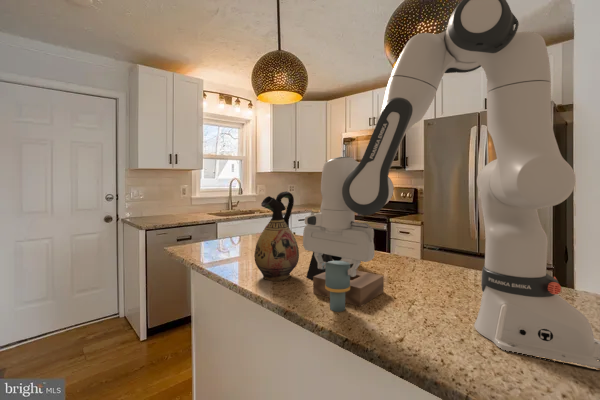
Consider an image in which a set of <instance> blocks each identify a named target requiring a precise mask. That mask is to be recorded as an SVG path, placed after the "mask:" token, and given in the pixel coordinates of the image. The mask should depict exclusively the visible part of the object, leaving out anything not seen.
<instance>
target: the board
mask: <svg viewBox="0 0 600 400" xmlns="http://www.w3.org/2000/svg"><path fill="white" fill-rule="evenodd" d="M384 279H385V276H384V275H380V274H377V273H373V272H372V273H371V272H366V271H362V270H357V269H356V276H354V277H351V276H350V290H349V291H347V292H345V304H346V303H347V304H351V305H354V306H357V307H362V306H363V305H365V304H367V303H368V302H370V301H372V300H373V299H375V298H377V297H379V295H381V294H383V293H384V285H385V284H384V282H385V281H384ZM312 284H313V285H312V291H313V292H312V293H313V294H316V295H319V296H323V297H326V298H329V299H330V291H328V290H326V289H325V272H324V273H321V274H319V275H316V276H313V280H312Z"/></svg>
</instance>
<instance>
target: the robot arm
mask: <svg viewBox="0 0 600 400" xmlns="http://www.w3.org/2000/svg"><path fill="white" fill-rule="evenodd" d="M519 25H520V24H519V20H518V19H517V17H516V15H515V14H514V13H513V12H512V10H511V8H510V5H509V3H508V2H507V0H461V1H460V2H459V3H458V4H457V5H456V6H455V8H454V10H453V11H452V13H451V14H450V18H449V20H448V24H447V27H446V30H445V31H442V32H440V33H431V32H421V33H418V34H415V35H413V36H412V37H410V39H409V40H408V41H407V42H406V44H405V45H404V47H403V48H402V51H401V52H400V54H399V57H398V58H397V60H396V63H395V64H394V67H393V69H392V71H391V74H390V77H389V79H388V82H387V85H386V88H385V92H384V95H383V99H382V103H381V107H380V111H379V115H378V120H377V121H376V122H377V123H376V125H375V126H374V130H373V132H372V135H371V137H370V138H369V142H368V144H367V146H366V149H365V151H364V154H363V156H362V158H361V161H357V160H355V159H354V158H353V157H352V156H338V157H334V158H330V159H328V160H326V161H325V163H323V167H322V172H321V177H320V178H321V179H320V180H321V181H320V194H321V198H322V199H321V203H320V212H318V213H315V214H312V215H309V216H305V217H304V224H305V226H304V228H303V235H302V246H303V248H304V250H305V251H307V252H312V253H313V252H314V256H315V258H316V261H317V262H318V269H325V264H326V262H323V259H322V256H321V255H323V254H328V255H332V256H337V257H342V258H347V259H352V264H353V265H351V267H350V269H348V276H351V277H354V276H356V270H357V269H358V268H359V266H360V264H361V262H364V263H367V262H370V261H372V260H374V258H375V243H374V238H375V230H374V228H373V227H372V225H370V224H369V223H367V222H360V221H359V222H358V221H355V222H354V220H355V214H358V215H362V216H370V215H374V214H376V213H378V212H380V211H381V209H383V208H384V206H385V205H386V204H388V203H389V201H391V199H392V198H393V195H394V191H395V189H394V188H395V187H394V183H393V181H392V178H390V177H389V175H390V174H389V173H390V170H391V168H392V165H393V163H394V159H396V156H397V153H398V151H399V148H400V145H401V143H402V141H403V139H404V137H405V135H406V134H407V132H408V131H409V130H410V129H411V128H412V127H413V126H415V124H417V123H419V122H420V121H421V120H422V119H423V118H424V116H425V115H426V113H427V111H428V110H429V108H430V106H431V105H432V103H433V102H434V101H433V100H434V98H435V97H436V94H437V92H438V89H439V86H440V84H441V81H442V78H443V76H444V75H445V74H453V73H454V74H455V73H457V74H458V73H460V74H464V73H470V72H474V71H476V70H478V69H480V68H482V69H483V71H484V73H485V78H486V79H487V80H486V125H487V126H486V128H487V129H486V130H487V132H488V134H489V135H490V137H491V139H492V142H493V146H494V147H493V148H494V150H495V154H496V155H495V156H496V159H493V160H491V161H490V162H489V163H487V164H485V165H484V167H482V168H481V169H480V171H479V173H478V174H477V176H476V187H477V189H478V191H479V195H480V196H479V197H480V204H481V210H482V215H483V222H484V231H485V233H484V234H485V243H484V244H485V246H484V250H485V251H484V252H485V253H484V265H483V266H482V269H481V278H480V279H481V280H480V281H481V291H482V296H481V300H480V307H479V310H478V313H477V317H476V320H475V322H474V323H473V324H474V328H475V330H476V331H477V332H478V334H480V335H482V336H484V338H486V339H488V340H490V341H492V342H493V344H494V345H496V346H497V347H498V348H501V350H502V351H505V350H506V351H505V352H509V351H512V352H511V353H514V352H517V353H516V354H518V353H522V354H521V355H523V354H527V355H533V356H539V357H545V358H549V359H556V360H561V361H565V362H573V363H577V364H581V365H587V366H590V367H595V368H600V340H599V339H597V338H595V335H594V331H593V329H592V326H591V323H590V321H589V320H588V318H587V316H586V315H585V314H583V312H581V311H580V310H579V309H577V308H576V307H575V306H573V305H572V304H570V303H569V302H568V301H567V300H566V299H564V298H563V297H562V296H560V293H561V291H562V289H561V288H562V286H561V285H560V283H559V281H558V279H557V278H556V276H551V275H550V274H548V273H547V263H548V245H549V243H548V235H547V233H546V232H545V230H544V228H543V226H542V223H541V220H540V217H539V213H538V210H539V209H545V208H550V207H554V206H557V205H560V204H561V203H563V202H564V201H565V200H567V199H568V198H569V197H570V196H571V194H572V193H573V191H574V190H575V186H576V175H575V172H574V169H573V167H572V166H571V165H570V164H569V163H568V162H567V161H566V159H564V157H563V156H562V154H561V150H560V149H559V145H558V142H557V139H556V137H555V132H554V128H553V123H552V122H553V121H552V110H551V109H552V104H551V103H552V100H551V99H552V95H551V94H552V93H551V92H552V91H551V90H552V89H551V88H552V87H551V86H552V84H551V83H552V81H551V80H552V79H551V66H550V60H549V59H550V58H549V52H548V48H547V45H546V41H545V39H544V37H543V36H542V35H541V34H539V33H537V32H534V31H520V32H519V31H518V30H519ZM527 355H526V356H527ZM597 360H599V361H597Z"/></svg>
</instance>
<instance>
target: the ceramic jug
mask: <svg viewBox="0 0 600 400" xmlns="http://www.w3.org/2000/svg"><path fill="white" fill-rule="evenodd" d="M283 198H285V199H287V200H288V202H287V206H285V205H284V203H283V202H282V199H283ZM294 203H295V201H294V195H293V193H291V192H290V191H281V192H280V193H278V194H277V195H276V198H275V197H271V196H269V195H268V196H267V197H265V198H264V199H263V200H262V202H261V205H260V206H261V207H263V208H265V209H267V210H269V211H271V212H272V215H271V219H270V220H269V222H268V223H267V224H266V226H265V227H264V229H263V231H262V233H261V234H260V235H259V237H258V239H257V242H256V244H255V250H254V256H253V257H254V262H255V265H256V267H257V269H258V270H259V271H260V273H261V274H262V278H263V280H267V281H272V282H273V281H274V282H278V281H279V282H280V281H285V280H287V279H289V277H290V275H291V272H292V271H294V269H296V267H297V266H298V263H299V259H300V252H299V245H298V242H297V239H296V237H295V235H294V233H293V231H292V230H291V229H290V218H291V215H292V211H293V207H294ZM283 211H285V213H284V215H283Z"/></svg>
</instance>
